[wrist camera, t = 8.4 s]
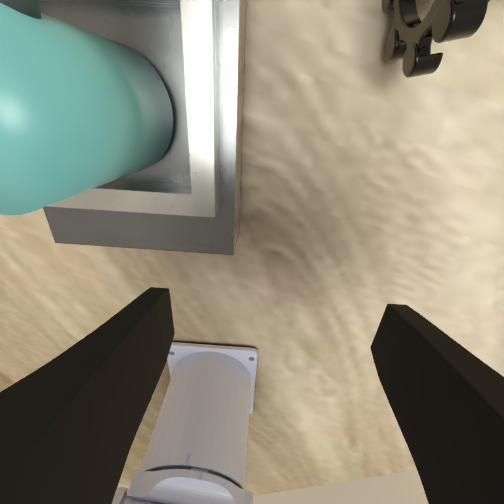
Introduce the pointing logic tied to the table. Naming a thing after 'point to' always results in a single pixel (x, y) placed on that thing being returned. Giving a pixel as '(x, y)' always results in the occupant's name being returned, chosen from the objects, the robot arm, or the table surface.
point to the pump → (72, 109)
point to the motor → (184, 129)
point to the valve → (429, 31)
